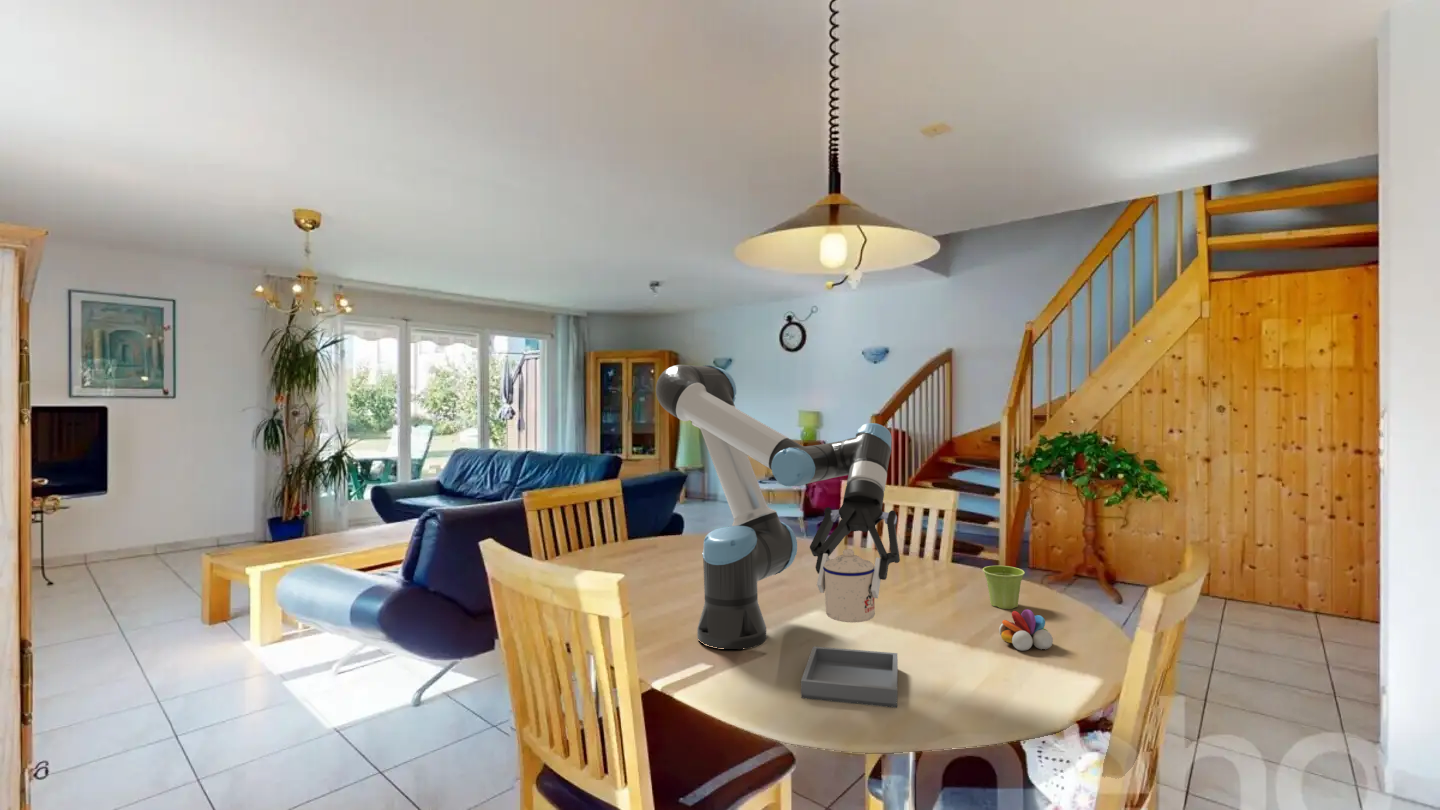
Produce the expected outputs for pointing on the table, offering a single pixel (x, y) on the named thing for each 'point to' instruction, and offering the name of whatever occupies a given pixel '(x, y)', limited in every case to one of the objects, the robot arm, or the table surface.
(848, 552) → the teacup with lid
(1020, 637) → the rainbow segmented toy
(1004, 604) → the plant pot
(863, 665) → the tray
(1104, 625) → the table surface
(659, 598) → the table surface
